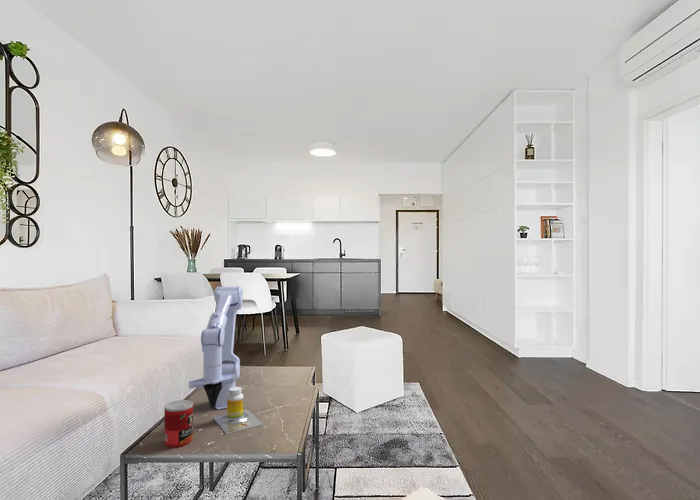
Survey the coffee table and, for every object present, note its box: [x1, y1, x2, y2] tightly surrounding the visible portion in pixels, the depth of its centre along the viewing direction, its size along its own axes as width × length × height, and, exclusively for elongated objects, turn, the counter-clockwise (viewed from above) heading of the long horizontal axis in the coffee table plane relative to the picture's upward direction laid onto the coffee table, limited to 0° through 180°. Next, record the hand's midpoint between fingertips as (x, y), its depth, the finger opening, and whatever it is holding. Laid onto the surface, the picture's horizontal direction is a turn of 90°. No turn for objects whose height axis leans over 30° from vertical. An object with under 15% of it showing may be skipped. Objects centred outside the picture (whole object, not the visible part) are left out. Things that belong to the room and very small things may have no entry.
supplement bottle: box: [226, 386, 245, 420], centre depth 130 cm, size 6×5×10 cm
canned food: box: [163, 399, 194, 448], centre depth 114 cm, size 8×8×11 cm
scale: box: [212, 409, 264, 435], centre depth 128 cm, size 15×12×1 cm
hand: (212, 406), depth 126 cm, fingers closed
